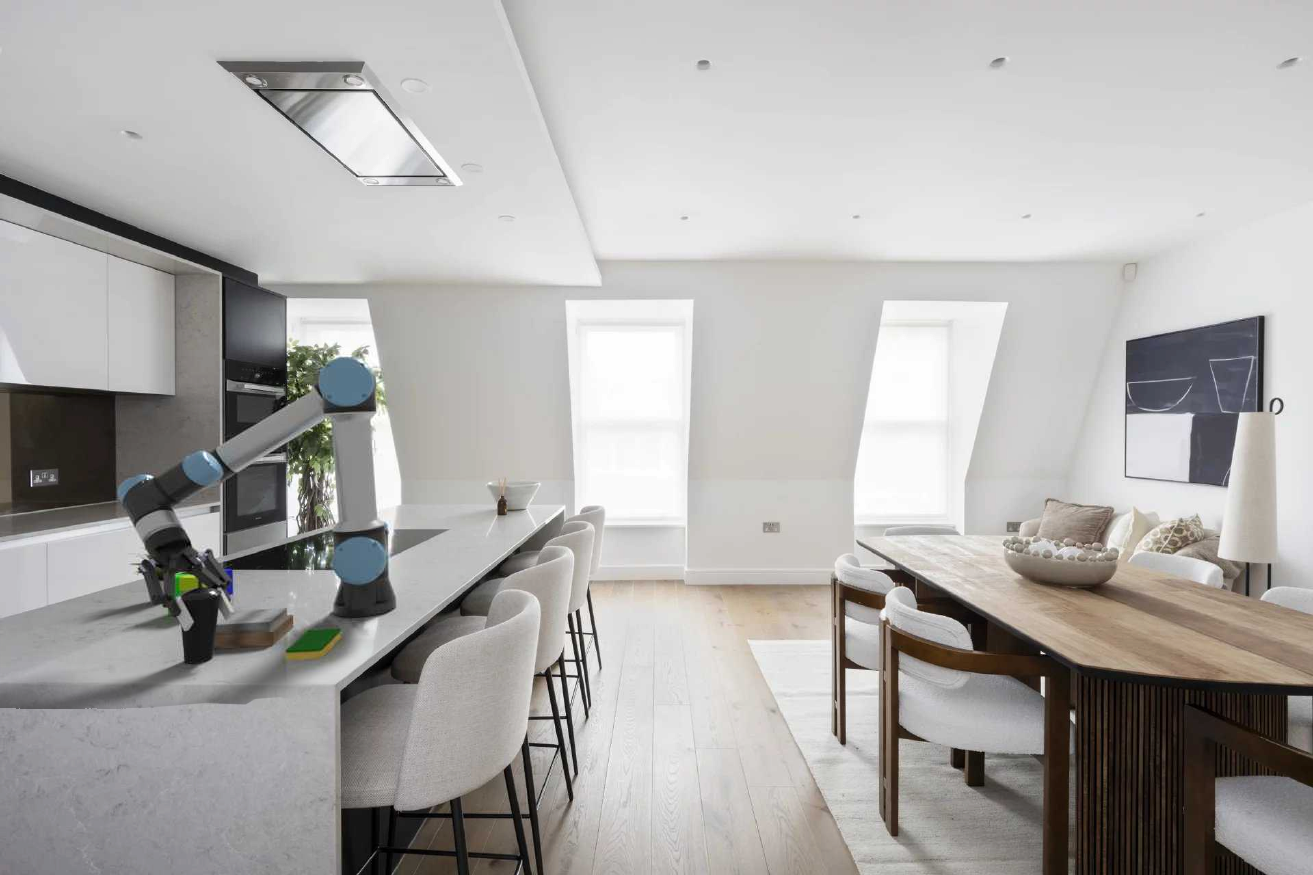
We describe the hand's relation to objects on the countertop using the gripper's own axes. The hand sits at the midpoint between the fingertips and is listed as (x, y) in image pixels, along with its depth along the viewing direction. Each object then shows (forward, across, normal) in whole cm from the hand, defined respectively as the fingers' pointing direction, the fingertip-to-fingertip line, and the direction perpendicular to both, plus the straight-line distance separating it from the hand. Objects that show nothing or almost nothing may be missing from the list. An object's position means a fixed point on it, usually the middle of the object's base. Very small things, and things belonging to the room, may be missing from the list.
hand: (210, 620), depth 135 cm
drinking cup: (+3, 0, -9) cm, 9 cm away
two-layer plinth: (+1, -13, -11) cm, 18 cm away
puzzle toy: (-23, -21, -36) cm, 47 cm away
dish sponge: (+14, -15, +1) cm, 21 cm away
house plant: (-38, -22, -50) cm, 67 cm away
